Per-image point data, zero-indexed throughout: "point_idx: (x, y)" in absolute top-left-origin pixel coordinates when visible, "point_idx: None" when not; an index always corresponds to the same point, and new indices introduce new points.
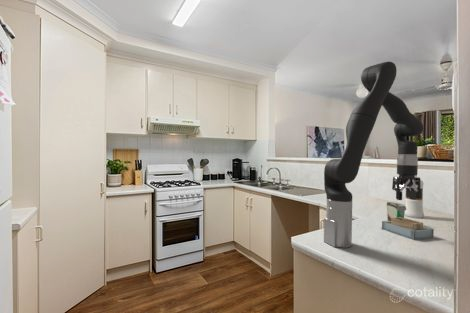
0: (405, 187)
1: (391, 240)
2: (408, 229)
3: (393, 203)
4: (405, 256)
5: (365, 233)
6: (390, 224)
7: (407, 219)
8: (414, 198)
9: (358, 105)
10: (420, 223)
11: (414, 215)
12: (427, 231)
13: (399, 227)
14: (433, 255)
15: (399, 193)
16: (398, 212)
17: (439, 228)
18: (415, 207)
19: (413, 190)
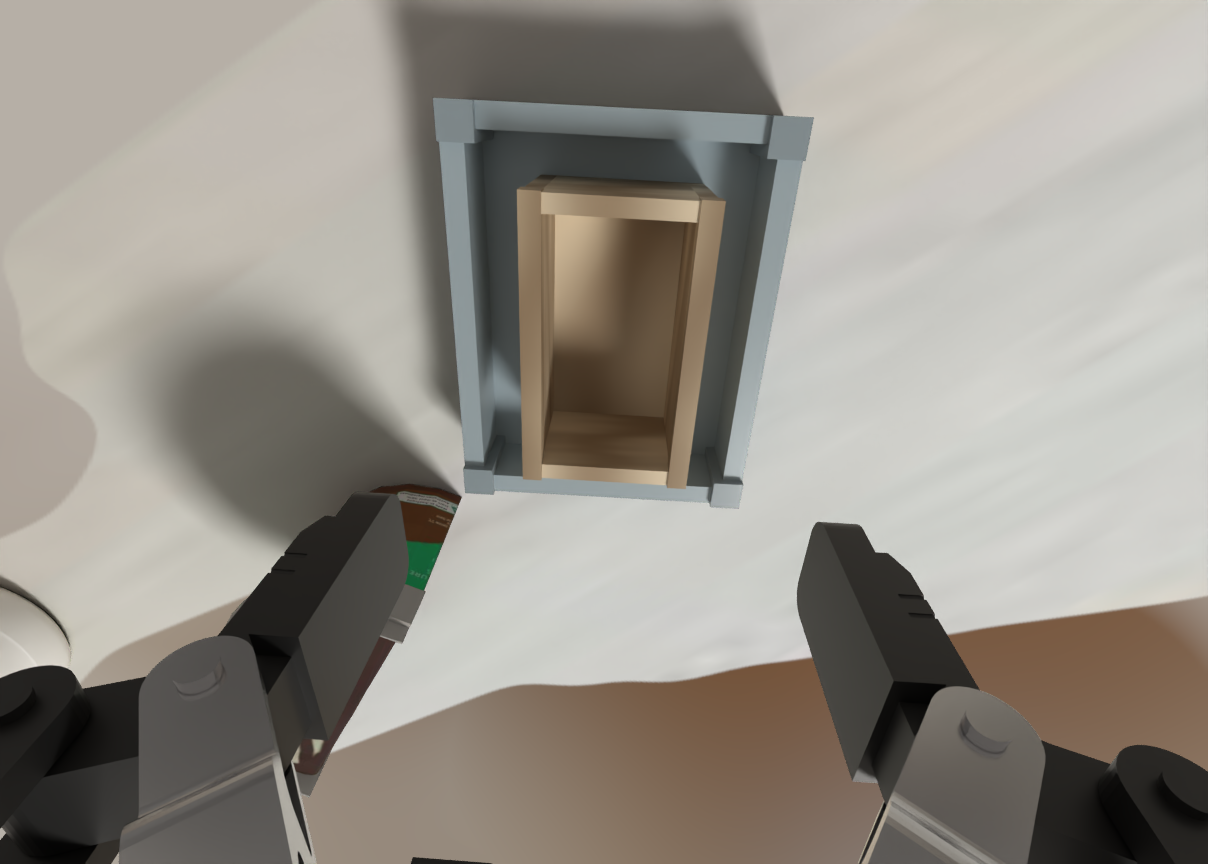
0: (893, 827)
1: (1039, 185)
2: (777, 205)
3: None
4: None
5: (1030, 417)
6: (753, 415)
7: (541, 385)
8: (383, 515)
9: None
10: (570, 194)
11: (15, 615)
12: (554, 104)
13: (773, 308)
14: None
15: (953, 665)
16: (411, 577)
17: (61, 308)
18: None
19: (274, 717)
